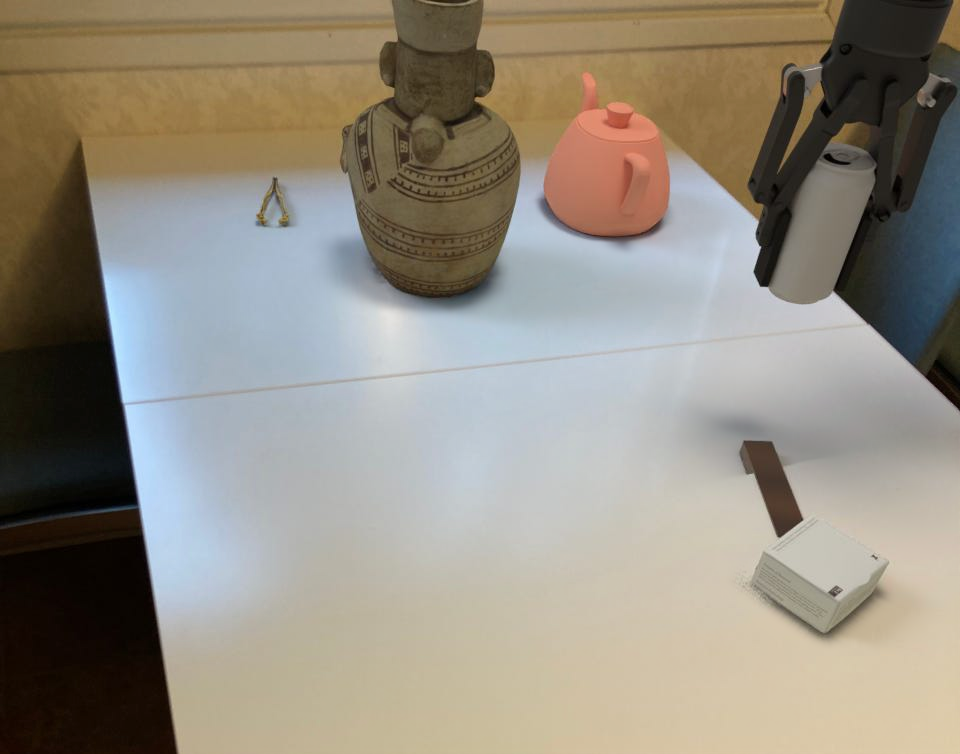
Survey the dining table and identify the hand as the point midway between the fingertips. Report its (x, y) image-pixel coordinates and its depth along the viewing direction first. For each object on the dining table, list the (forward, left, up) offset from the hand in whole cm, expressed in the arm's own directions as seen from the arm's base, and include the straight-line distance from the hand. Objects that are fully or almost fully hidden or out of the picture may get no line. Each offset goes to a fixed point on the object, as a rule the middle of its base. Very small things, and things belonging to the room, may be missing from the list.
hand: (798, 281), depth 85 cm
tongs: (+60, +35, -16) cm, 72 cm away
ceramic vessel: (+38, +21, -16) cm, 47 cm away
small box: (-23, +9, -16) cm, 30 cm away
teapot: (+49, -8, -16) cm, 52 cm away
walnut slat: (-11, +4, -16) cm, 20 cm away
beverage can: (0, 0, -1) cm, 1 cm away
